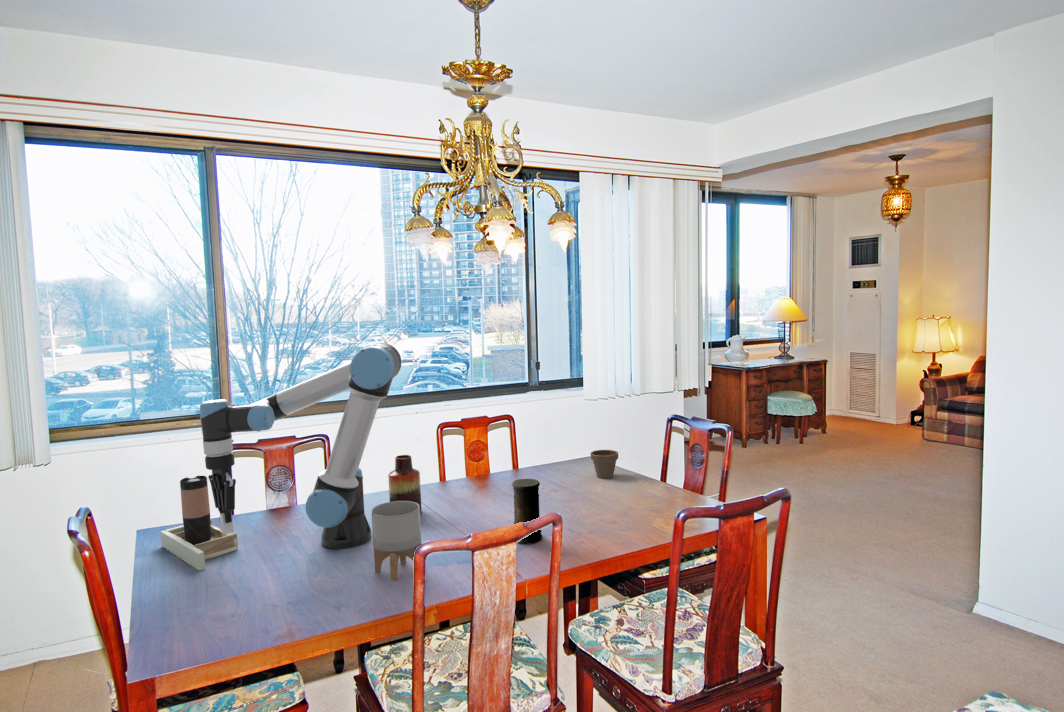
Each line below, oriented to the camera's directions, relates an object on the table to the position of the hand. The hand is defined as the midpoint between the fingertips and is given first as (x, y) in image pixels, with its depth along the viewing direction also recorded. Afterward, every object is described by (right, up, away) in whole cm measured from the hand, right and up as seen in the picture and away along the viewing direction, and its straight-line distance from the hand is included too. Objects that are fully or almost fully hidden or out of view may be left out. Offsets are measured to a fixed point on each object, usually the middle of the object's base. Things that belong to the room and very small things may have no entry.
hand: (227, 532), depth 189 cm
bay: (-11, -8, +10) cm, 17 cm away
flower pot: (+119, +2, +76) cm, 141 cm away
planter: (+52, -8, -9) cm, 53 cm away
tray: (-13, -8, +12) cm, 19 cm away
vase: (+45, -4, +38) cm, 59 cm away
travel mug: (-16, -7, +14) cm, 22 cm away
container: (+87, -5, +11) cm, 88 cm away
